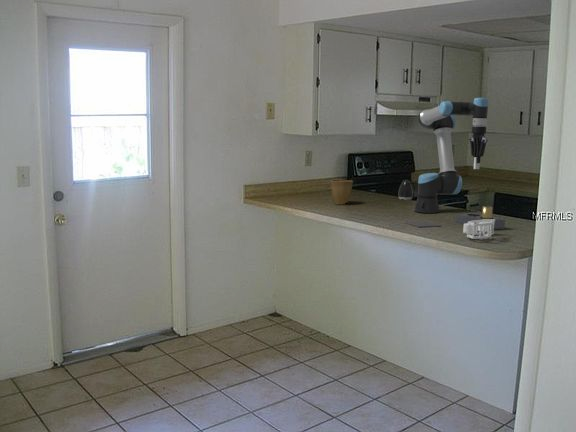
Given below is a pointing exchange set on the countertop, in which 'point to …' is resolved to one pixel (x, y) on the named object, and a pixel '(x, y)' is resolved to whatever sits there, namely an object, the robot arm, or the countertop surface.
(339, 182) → the plant pot
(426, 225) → the mat
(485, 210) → the bushing
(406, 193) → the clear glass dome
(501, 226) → the block
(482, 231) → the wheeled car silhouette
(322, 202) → the countertop surface
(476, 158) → the robot arm
